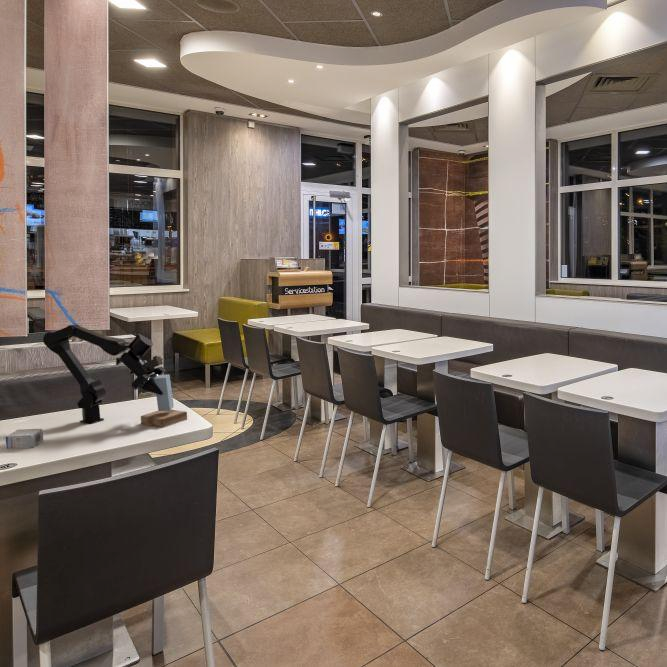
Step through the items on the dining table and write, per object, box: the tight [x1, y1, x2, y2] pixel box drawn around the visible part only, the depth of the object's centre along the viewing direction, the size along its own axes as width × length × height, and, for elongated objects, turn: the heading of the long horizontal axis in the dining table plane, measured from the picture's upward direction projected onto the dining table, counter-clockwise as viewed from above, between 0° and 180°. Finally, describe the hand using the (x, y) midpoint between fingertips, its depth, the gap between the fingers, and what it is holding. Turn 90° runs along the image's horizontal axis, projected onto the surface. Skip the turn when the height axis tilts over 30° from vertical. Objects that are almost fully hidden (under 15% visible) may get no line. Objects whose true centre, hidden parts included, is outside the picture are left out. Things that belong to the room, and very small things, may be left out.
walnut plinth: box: [140, 409, 188, 428], centre depth 212 cm, size 12×12×3 cm
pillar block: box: [154, 374, 175, 411], centre depth 211 cm, size 4×4×13 cm
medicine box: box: [5, 428, 44, 450], centre depth 187 cm, size 8×4×9 cm
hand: (164, 392), depth 210 cm, fingers closed on pillar block, 5 cm apart
